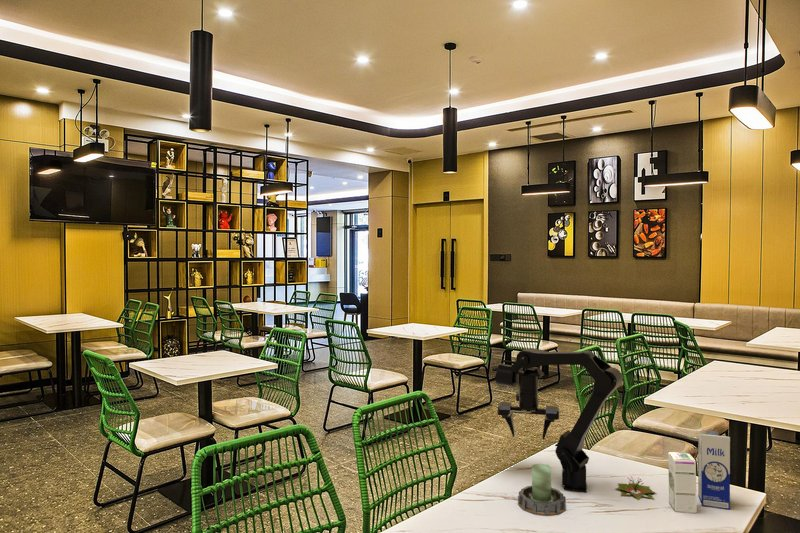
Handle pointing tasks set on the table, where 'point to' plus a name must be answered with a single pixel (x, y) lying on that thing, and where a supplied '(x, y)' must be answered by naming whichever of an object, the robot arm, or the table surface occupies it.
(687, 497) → the syrup box
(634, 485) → the lily flower
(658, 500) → the table surface
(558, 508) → the gear collar
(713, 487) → the milk carton
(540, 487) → the green marbled cylinder
